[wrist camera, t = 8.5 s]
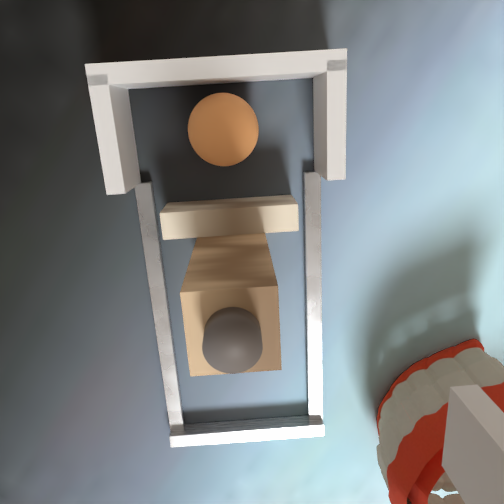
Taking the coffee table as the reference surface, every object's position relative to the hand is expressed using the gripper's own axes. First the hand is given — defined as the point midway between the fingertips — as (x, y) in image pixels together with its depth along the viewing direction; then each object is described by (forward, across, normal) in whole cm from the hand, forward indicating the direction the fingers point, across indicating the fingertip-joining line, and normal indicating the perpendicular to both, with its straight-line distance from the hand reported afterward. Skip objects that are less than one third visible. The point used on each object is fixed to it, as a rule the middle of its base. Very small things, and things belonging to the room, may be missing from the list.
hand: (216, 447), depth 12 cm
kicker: (+18, +1, 0) cm, 18 cm away
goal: (+18, +1, +8) cm, 19 cm away
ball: (+16, +1, +8) cm, 17 cm away
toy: (+17, +15, -15) cm, 27 cm away
